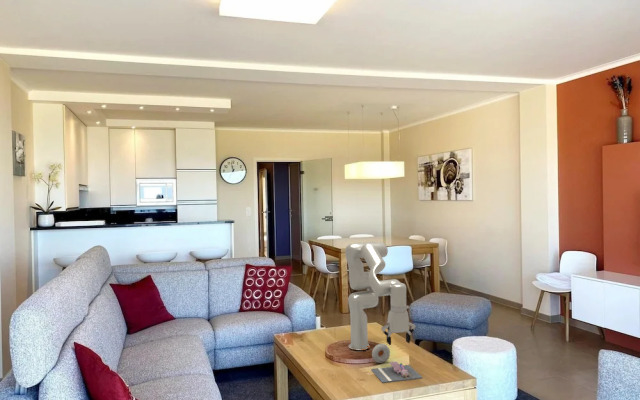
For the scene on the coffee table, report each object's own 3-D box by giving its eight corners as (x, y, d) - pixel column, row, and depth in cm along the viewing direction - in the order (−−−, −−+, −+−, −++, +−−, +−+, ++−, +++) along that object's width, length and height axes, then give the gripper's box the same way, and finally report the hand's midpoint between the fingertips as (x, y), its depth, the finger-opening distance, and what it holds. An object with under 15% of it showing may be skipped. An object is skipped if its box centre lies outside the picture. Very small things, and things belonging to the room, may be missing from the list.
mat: (371, 370, 239) (371, 368, 239) (408, 365, 243) (408, 364, 243) (382, 383, 223) (382, 381, 223) (422, 378, 227) (422, 376, 227)
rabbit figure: (413, 379, 228) (395, 364, 241) (414, 368, 226) (396, 353, 240) (402, 382, 225) (385, 366, 238) (403, 370, 224) (386, 355, 237)
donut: (373, 365, 245) (373, 346, 245) (370, 363, 248) (370, 344, 248) (391, 362, 248) (390, 343, 248) (388, 360, 251) (387, 341, 251)
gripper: (412, 305, 238) (412, 338, 239) (378, 307, 234) (379, 342, 235) (418, 309, 231) (418, 344, 232) (384, 312, 227) (384, 347, 228)
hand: (398, 343), depth 233 cm, fingers open, 9 cm apart
